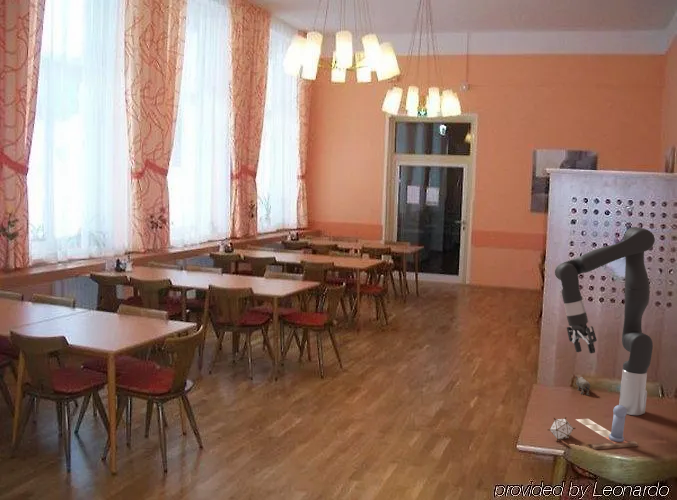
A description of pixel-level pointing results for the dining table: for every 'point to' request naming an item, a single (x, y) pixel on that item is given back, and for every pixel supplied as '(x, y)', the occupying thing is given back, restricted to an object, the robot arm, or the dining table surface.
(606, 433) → the game board
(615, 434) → the pawn
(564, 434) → the game die
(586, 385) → the rhino figurine
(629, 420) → the dining table surface
